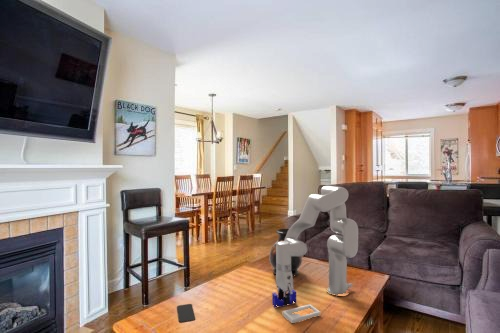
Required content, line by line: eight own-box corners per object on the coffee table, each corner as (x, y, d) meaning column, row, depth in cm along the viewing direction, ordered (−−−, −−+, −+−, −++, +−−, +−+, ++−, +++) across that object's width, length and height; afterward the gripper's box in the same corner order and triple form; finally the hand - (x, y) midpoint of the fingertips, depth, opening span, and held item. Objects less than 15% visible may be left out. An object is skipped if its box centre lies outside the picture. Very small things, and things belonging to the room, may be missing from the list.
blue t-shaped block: (292, 299, 147) (292, 288, 146) (296, 303, 142) (296, 291, 142) (271, 303, 142) (271, 291, 142) (275, 307, 138) (274, 295, 138)
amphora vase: (264, 269, 190) (264, 228, 190) (293, 265, 196) (293, 226, 196) (276, 281, 169) (277, 235, 169) (308, 277, 176) (308, 233, 175)
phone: (179, 322, 125) (176, 305, 139) (179, 323, 125) (176, 307, 139) (195, 319, 127) (191, 303, 141) (195, 321, 127) (191, 305, 141)
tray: (310, 308, 138) (310, 304, 138) (320, 316, 131) (320, 311, 131) (282, 315, 131) (282, 311, 131) (292, 324, 124) (292, 319, 124)
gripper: (299, 270, 136) (299, 307, 136) (281, 260, 151) (281, 293, 152) (286, 273, 133) (286, 311, 133) (269, 262, 148) (269, 296, 148)
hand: (283, 301), depth 142 cm, fingers closed on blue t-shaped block, 4 cm apart
